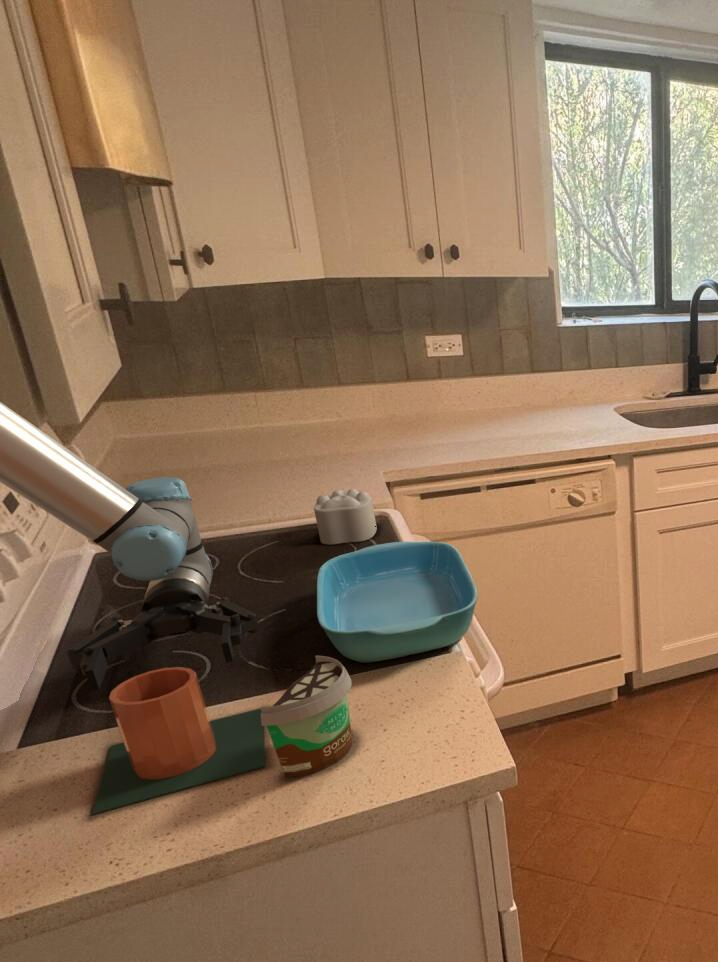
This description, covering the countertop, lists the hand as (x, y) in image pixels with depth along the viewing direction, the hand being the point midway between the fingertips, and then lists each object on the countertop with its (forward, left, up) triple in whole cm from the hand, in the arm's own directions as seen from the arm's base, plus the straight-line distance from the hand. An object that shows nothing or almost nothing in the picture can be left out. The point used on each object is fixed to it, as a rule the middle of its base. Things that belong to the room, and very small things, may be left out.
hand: (161, 666), depth 96 cm
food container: (+16, +16, -9) cm, 24 cm away
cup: (+8, 0, -8) cm, 12 cm away
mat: (+8, +1, -9) cm, 12 cm away
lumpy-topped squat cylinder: (-66, +26, -9) cm, 72 cm away
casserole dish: (-17, +29, -9) cm, 35 cm away
